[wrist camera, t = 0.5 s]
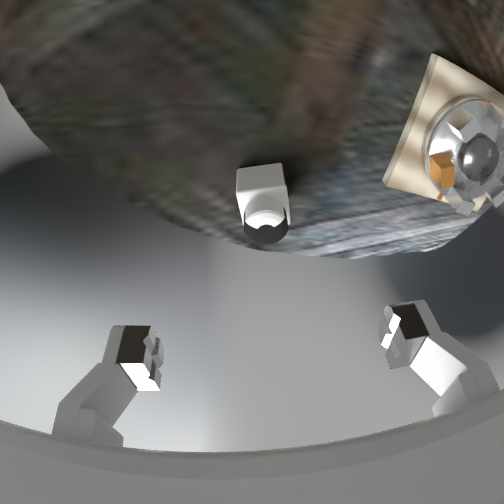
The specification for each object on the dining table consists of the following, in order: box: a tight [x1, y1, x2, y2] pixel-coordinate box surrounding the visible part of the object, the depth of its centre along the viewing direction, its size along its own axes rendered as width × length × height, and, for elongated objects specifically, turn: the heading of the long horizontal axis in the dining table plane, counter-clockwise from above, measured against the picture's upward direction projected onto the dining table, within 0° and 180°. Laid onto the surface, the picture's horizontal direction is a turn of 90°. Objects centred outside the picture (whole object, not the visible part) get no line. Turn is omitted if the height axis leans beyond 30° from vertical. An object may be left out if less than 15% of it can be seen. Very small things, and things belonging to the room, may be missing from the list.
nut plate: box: [382, 53, 504, 212], centre depth 43 cm, size 24×24×2 cm
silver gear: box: [421, 95, 504, 216], centre depth 40 cm, size 19×19×7 cm
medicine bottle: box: [236, 163, 291, 245], centre depth 47 cm, size 7×7×12 cm
